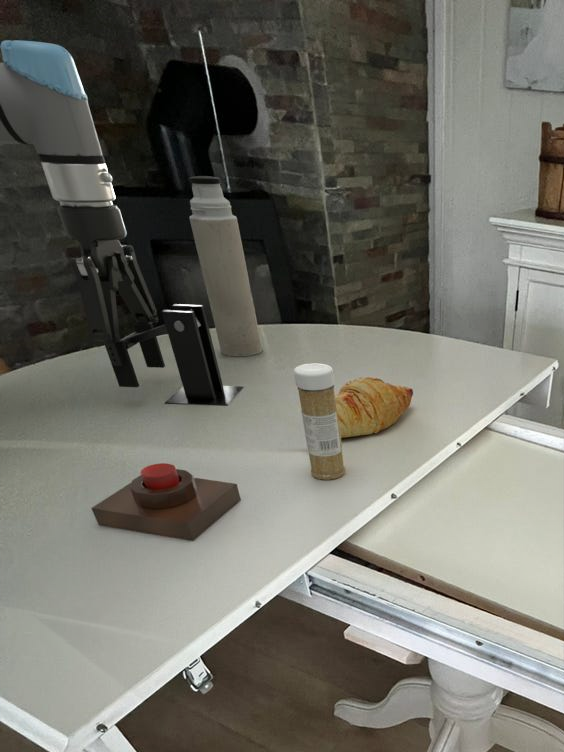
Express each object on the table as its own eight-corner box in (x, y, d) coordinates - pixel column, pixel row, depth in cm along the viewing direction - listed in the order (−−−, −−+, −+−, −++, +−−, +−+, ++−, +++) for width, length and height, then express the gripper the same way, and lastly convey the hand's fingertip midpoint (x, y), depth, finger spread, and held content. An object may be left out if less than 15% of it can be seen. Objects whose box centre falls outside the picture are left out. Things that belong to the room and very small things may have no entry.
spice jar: (344, 465, 81) (331, 361, 72) (346, 480, 77) (333, 372, 69) (310, 467, 80) (293, 362, 71) (310, 482, 76) (292, 374, 68)
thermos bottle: (240, 343, 123) (203, 174, 105) (270, 349, 121) (238, 177, 103) (212, 352, 118) (168, 175, 99) (243, 358, 115) (204, 178, 97)
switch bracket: (166, 410, 94) (136, 314, 85) (187, 391, 100) (161, 300, 91) (229, 412, 94) (206, 316, 85) (246, 393, 101) (226, 303, 92)
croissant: (330, 471, 87) (341, 431, 80) (284, 425, 87) (291, 381, 81) (423, 427, 100) (439, 389, 93) (382, 387, 100) (395, 346, 94)
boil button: (138, 489, 66) (133, 474, 65) (159, 475, 69) (154, 461, 68) (167, 493, 65) (162, 478, 64) (186, 479, 68) (182, 465, 67)
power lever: (123, 354, 90) (113, 338, 89) (138, 346, 94) (128, 330, 92) (193, 331, 88) (183, 314, 86) (204, 323, 92) (195, 306, 90)
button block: (98, 525, 67) (84, 493, 64) (154, 487, 74) (143, 456, 71) (193, 541, 65) (182, 508, 62) (241, 500, 72) (233, 469, 70)
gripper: (73, 212, 72) (137, 400, 86) (149, 197, 88) (191, 357, 103) (10, 210, 71) (85, 398, 86) (98, 195, 88) (148, 355, 103)
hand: (143, 376), depth 94 cm, fingers open, 9 cm apart
